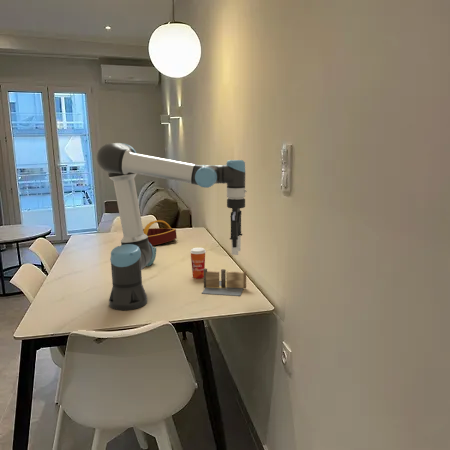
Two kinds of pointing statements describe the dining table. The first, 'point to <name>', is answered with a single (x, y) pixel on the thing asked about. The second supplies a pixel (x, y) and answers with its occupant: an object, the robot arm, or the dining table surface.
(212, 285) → the fixed fence panel and posts
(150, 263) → the flower pot
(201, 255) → the paper cup
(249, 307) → the dining table surface
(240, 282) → the hinged fence panel
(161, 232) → the decorative basket
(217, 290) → the board
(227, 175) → the robot arm
